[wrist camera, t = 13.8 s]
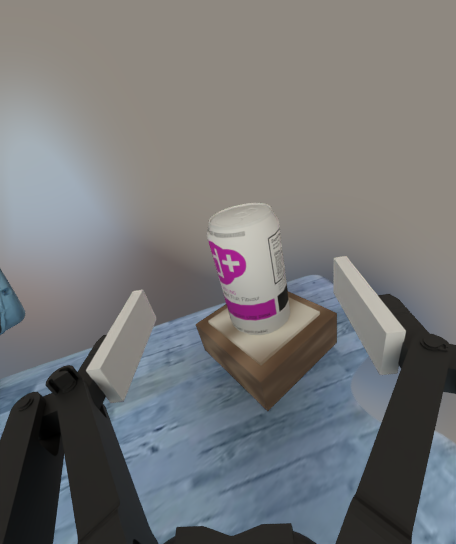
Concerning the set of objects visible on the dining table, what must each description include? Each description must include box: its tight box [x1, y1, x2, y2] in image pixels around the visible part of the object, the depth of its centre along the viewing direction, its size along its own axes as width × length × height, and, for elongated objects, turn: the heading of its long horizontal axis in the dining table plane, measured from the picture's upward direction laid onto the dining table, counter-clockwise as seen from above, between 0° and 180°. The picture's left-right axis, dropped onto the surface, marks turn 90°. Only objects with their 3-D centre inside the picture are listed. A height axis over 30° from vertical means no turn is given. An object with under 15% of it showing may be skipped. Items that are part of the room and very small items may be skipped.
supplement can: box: [207, 203, 290, 335], centre depth 31 cm, size 8×8×15 cm
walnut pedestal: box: [196, 292, 337, 411], centre depth 37 cm, size 14×14×6 cm
